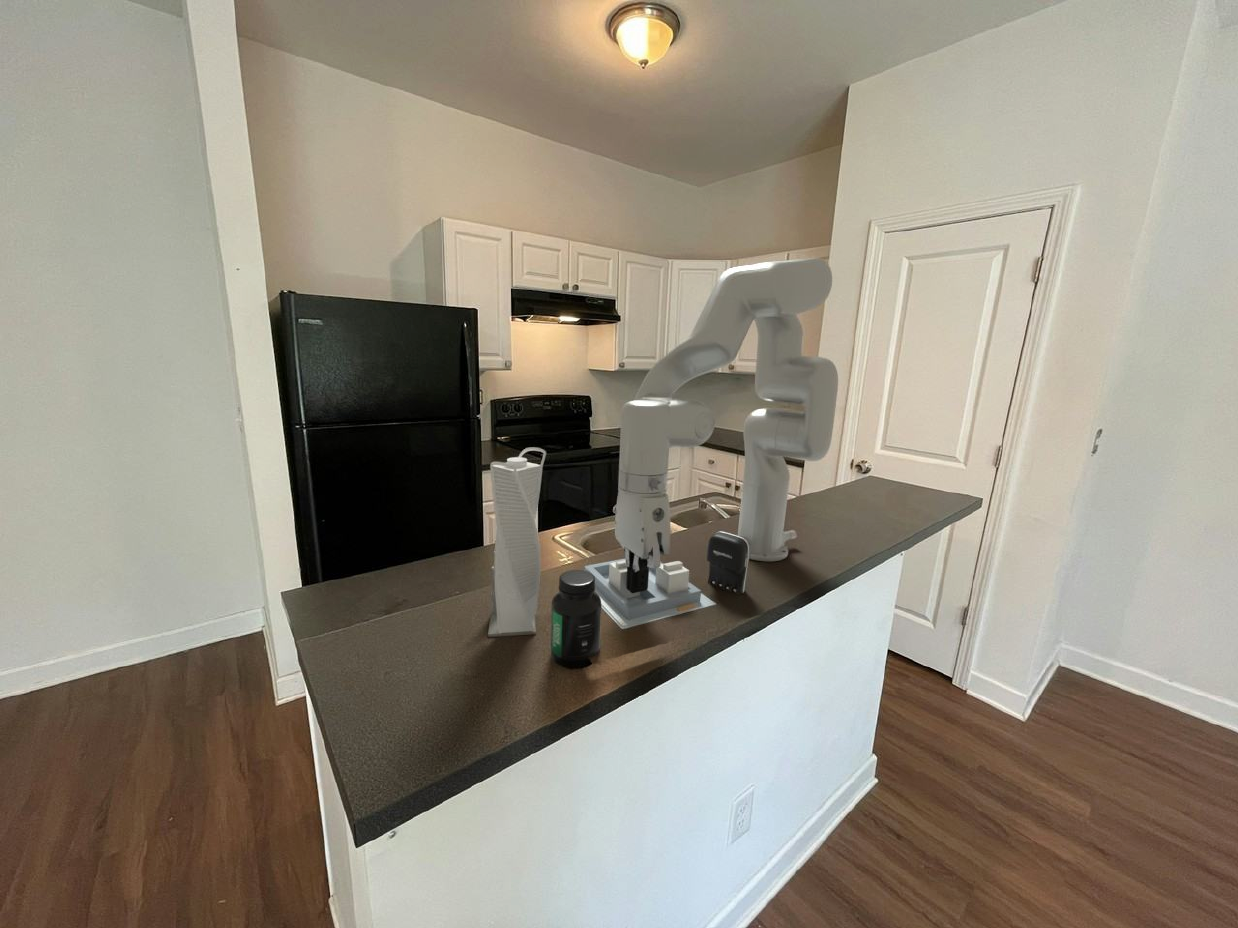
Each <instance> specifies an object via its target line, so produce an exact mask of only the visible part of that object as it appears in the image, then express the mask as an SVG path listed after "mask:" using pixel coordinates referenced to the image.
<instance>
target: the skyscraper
mask: <svg viewBox="0 0 1238 928" xmlns="http://www.w3.org/2000/svg"><path fill="white" fill-rule="evenodd" d="M530 451H531V452H532V451H533V452H534V451H535V452H541V453H543V455H542V459H541V461H540V464H537V463H534V462H533V463H532V462H528V458H526V457H523V455H524V454H526V453H528V452H530ZM546 456H547V451H546V450H545V449H542V448H541V447H536V446H535V447H534V446H533V447H530V446H529V447H525V449H524V448H523V450H522V451H521V452H520V453H519V455H518V456H515V457H509V458H507V459H506V462H502V461H492V462H491V463H490V467H489V468H490V477H491V479H490V480H491V491H492V502H493V511H494V519H495V524H496V532H495V540H494V546H495V547H494V551H493V559H494V561H493V566H491V577H492V588H491V592H490V596H491V601H492V602H491V603H492V606H491V611H490V612H491V613H490V620H489V625H488V632H487V637H488V638H491V637H492V638H493V637H494V638H495V637H509V636H512V637H513V636H525V635H526V636H527V635H536V634H537V629H536V628H537V626H536V622H537V621H536V617H537V610H538V609H537V608H538V602H539V596H540V594H539V593H540V586H541V585H540V582H541V569H542V568H541V567H542V565H541V546H540V539H539V533H538V528H537V523H536V517H537V514H538V513H537V512H538V507H539V500H540V493H541V486H542V476H543V468H544V462H545V461H546V460H545V459H546Z"/></svg>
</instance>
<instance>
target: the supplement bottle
mask: <svg viewBox="0 0 1238 928" xmlns="http://www.w3.org/2000/svg"><path fill="white" fill-rule="evenodd" d="M558 580H559V581H558V584H559V585H558V591H557V592H556V593H555V594H554V596H553V598H552V600H551V606H550V607H551V611H550V613H551V615H550V617H551V621H550V625H551V627H550V630H551V631H550V633H551V634H550V654H551V659H552V660H553V661H554V662H555V664H556V665H558V666H560V668H563V669H566V670H567V669H568V670H583V669H585V668H588V667H591V666H592V665H593V662H592V661H591V658H593V657H595V656H596V655H597V654H598V653H599V651H600V648H601V630H602V629H601V626H602V625H601V624H602V607H601V599H600V597H599V595H598V594H597V593H596V592H595V577H594V575H593V574H592V573H590V572H587V571H584V569H573V570H571V569H570V570H567V571H564V572H562V574H560V575H559V579H558Z"/></svg>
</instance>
